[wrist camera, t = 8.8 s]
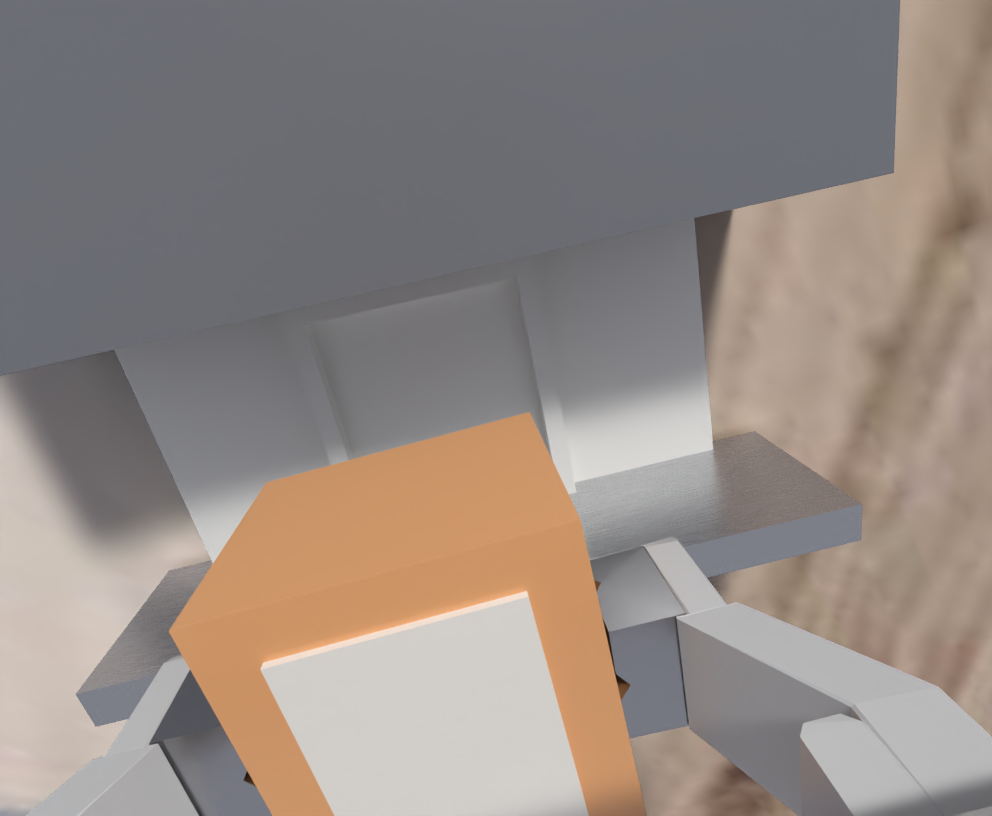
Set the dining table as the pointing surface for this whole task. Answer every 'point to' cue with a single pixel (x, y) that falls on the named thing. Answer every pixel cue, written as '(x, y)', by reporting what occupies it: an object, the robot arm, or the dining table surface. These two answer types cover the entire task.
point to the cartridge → (416, 639)
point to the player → (392, 143)
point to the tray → (475, 414)
